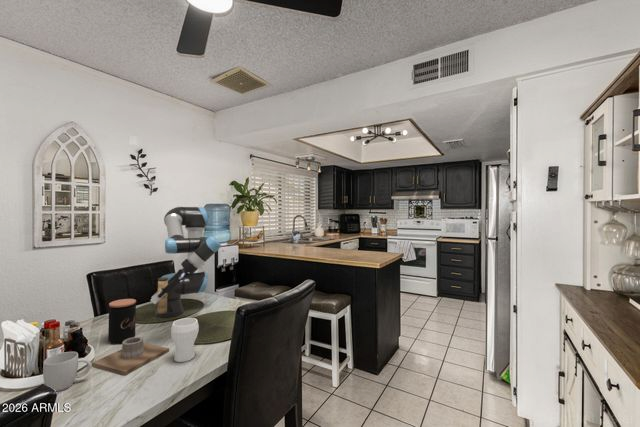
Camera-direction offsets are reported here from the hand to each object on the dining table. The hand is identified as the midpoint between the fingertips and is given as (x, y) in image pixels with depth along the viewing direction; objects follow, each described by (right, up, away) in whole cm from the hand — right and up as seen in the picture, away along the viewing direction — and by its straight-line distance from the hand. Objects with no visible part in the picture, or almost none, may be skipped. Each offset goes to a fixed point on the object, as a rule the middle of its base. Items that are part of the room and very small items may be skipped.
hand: (153, 300), depth 133 cm
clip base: (0, -20, -14) cm, 24 cm away
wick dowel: (+3, -6, +2) cm, 7 cm away
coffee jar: (-17, -20, +3) cm, 26 cm away
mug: (-11, -20, -33) cm, 40 cm away
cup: (+20, -20, -13) cm, 31 cm away
